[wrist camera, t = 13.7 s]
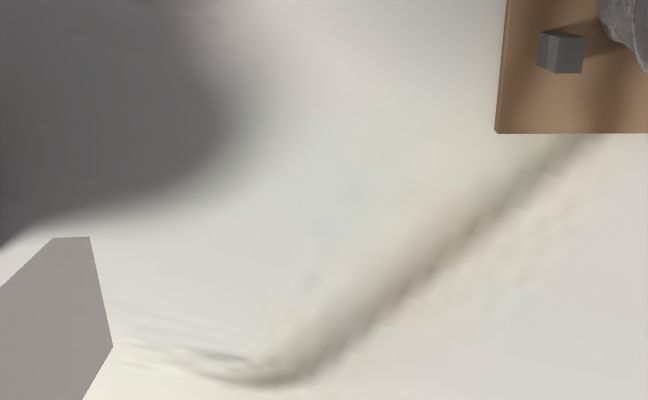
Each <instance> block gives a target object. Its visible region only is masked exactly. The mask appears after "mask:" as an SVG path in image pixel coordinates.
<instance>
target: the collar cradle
mask: <svg viewBox="0 0 648 400" xmlns="http://www.w3.org/2000/svg"><path fill="white" fill-rule="evenodd" d="M598 1H599V0H507V5H506V16H505V26H504V36H503V46H502V56H501V66H500V77H499V87H498V97H497V107H496V117H495V127H494V130H495V131H496V132H497V133H498V134H558V133H648V74H646V73H644V72H643V71H642V70H641V69H640V68H639V65H638V62H637V59H636V57H635V55H634V53H633V51H632V50H631V49H630V48H628V47H627V46H626V45H624V44H623V43H621V42H616V41H614V40H612V39H610V38H609V37H608V36H607V35H606V33H605V32H604V30H603V28H602V26H601V23H600V19H599V15H598Z"/></svg>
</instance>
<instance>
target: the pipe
mask: <svg viewBox="0 0 648 400" xmlns="http://www.w3.org/2000/svg"><path fill="white" fill-rule="evenodd" d="M598 15H599V19H600V23H601V26H602V28H603V30H604V32H605V33H606V35H607V36H608V37H609V38H610V39H612V40H614V41H616V42H621V43H623V44H624V45H626V46H627V47H628V48H630V49H631V50H632V51H633V53H634V55H635V57H636V59H637V62H638V65H639V68H640V69H641V70H642V71H643V72H644V73H646V74H648V0H599V1H598Z"/></svg>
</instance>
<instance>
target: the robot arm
mask: <svg viewBox="0 0 648 400" xmlns="http://www.w3.org/2000/svg"><path fill="white" fill-rule="evenodd" d="M112 348H113V344H112V339H111V335H110V330H109V326H108V321H107V316H106V312H105V307H104V303H103V298H102V293H101V289H100V284H99V280H98V275H97V270H96V266H95V261H94V257H93V252H92V247H91V243H90V238H89V237H70V238H52V239H51V240H50V241H49V242H48V243H47V244H46V245H45V246H44V247H43V248H42V249H41V250H40V251H39V252H38V253H37V254H35V255H34V256H33V257H32V258H31V259H30V260H29V261H28V262H27V263H26V264H25V265H24V266H23V267H22V268H21V269H20V270H18V271H17V272H16V273H15V274H14V275H13V276H12V277H11V278H10V279H9V280H8V281H7V282H6V283H5V284H4V285H3V286H2V287H0V400H82V399H83V397H84V395H85V394H86V392H87V390H88V389H89V387H90V385H91V384H92V382H93V380H94V378H95V377H96V375H97V373H98V372H99V370H100V368H101V366H102V365H103V363H104V361H105V360H106V358H107V356H108V355H109V353H110V351H111V349H112Z"/></svg>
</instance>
